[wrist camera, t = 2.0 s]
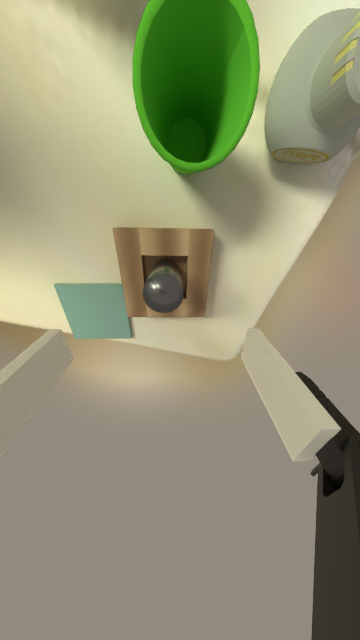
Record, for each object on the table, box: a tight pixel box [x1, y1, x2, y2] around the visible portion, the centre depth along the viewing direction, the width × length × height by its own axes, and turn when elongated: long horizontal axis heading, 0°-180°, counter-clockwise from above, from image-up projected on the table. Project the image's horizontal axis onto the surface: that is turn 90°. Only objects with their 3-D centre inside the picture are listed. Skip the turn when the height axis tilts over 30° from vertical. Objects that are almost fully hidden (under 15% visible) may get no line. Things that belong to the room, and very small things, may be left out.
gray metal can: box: [143, 259, 183, 313], centre depth 24 cm, size 5×5×10 cm
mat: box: [54, 284, 132, 339], centre depth 32 cm, size 12×12×1 cm
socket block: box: [113, 228, 214, 317], centre depth 27 cm, size 14×14×4 cm
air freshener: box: [264, 8, 360, 164], centre depth 16 cm, size 11×8×10 cm
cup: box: [133, 0, 260, 175], centre depth 16 cm, size 9×9×11 cm
